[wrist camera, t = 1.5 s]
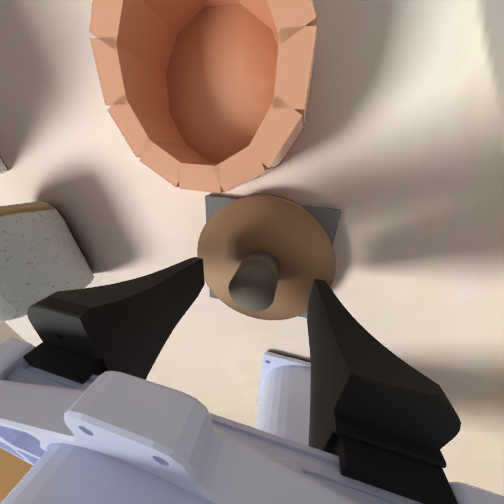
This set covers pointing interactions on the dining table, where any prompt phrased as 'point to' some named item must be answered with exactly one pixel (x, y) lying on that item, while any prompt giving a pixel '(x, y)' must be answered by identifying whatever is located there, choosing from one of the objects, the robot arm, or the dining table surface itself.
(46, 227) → the ceramic mug
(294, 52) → the terracotta bowl
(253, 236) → the walnut lid
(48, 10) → the dining table surface
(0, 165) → the supplement box
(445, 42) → the dining table surface
